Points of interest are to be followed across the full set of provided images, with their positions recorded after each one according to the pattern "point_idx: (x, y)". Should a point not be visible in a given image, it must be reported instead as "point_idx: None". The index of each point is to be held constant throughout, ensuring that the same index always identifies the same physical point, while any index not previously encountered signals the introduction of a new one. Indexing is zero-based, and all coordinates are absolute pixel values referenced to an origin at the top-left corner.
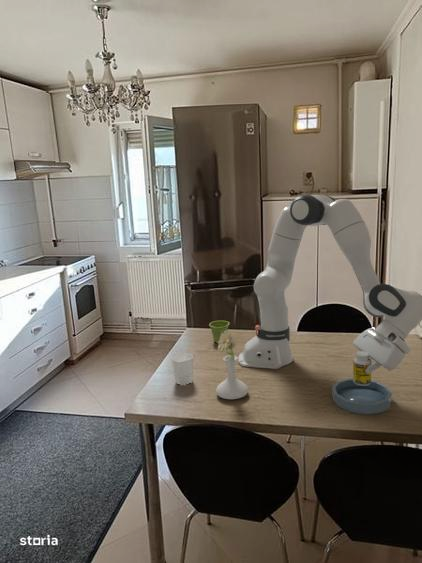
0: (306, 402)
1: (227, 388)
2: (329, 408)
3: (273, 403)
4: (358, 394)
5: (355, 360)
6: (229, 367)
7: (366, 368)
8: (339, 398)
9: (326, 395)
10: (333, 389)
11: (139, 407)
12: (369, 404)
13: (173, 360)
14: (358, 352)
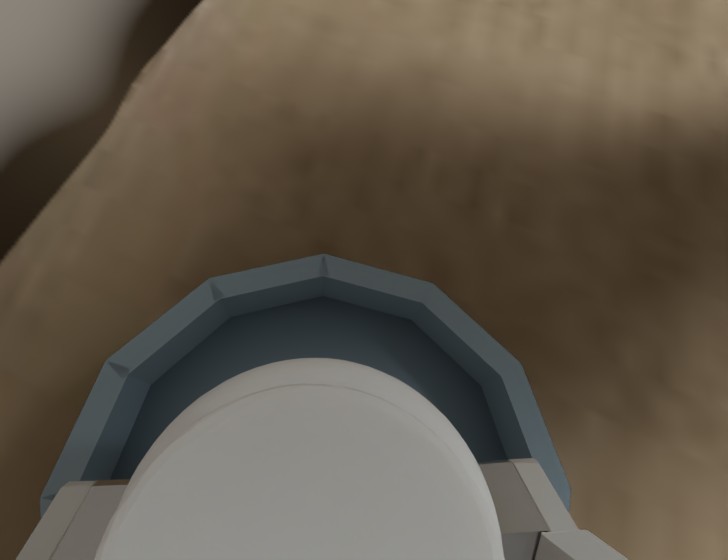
0: (382, 147)
1: None
2: (279, 233)
3: (410, 15)
4: None
5: (307, 371)
6: None
7: (81, 512)
8: (265, 269)
9: (441, 283)
10: (395, 277)
11: None
12: (68, 441)
13: None
14: (436, 506)
